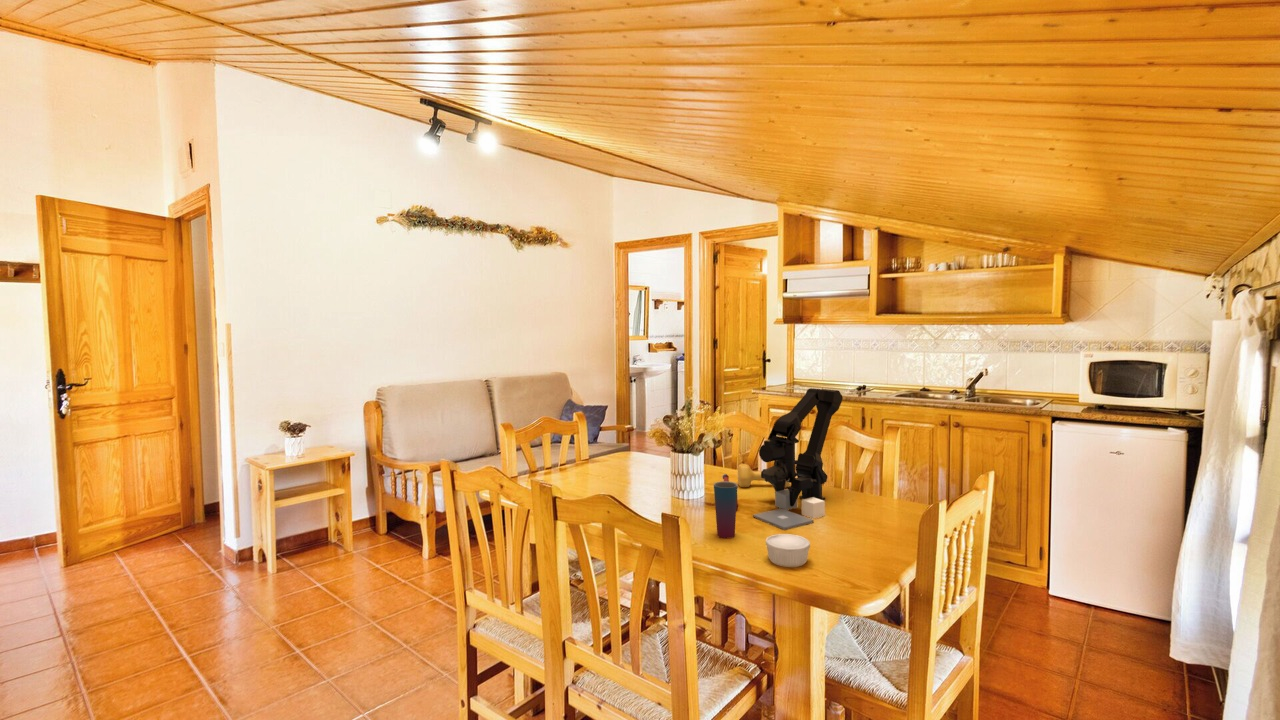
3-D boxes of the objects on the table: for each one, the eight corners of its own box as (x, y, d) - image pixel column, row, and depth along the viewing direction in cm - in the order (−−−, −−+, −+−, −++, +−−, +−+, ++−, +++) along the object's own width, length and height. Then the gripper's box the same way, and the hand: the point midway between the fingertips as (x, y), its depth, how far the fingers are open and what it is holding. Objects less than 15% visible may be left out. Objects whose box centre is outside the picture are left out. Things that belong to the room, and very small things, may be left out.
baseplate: (781, 510, 198) (781, 507, 198) (813, 522, 186) (813, 519, 186) (752, 517, 192) (752, 514, 192) (784, 530, 180) (784, 527, 180)
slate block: (786, 503, 206) (786, 489, 205) (797, 507, 201) (797, 492, 201) (775, 506, 203) (775, 491, 203) (785, 510, 199) (785, 495, 198)
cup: (739, 532, 179) (739, 482, 178) (735, 540, 173) (735, 488, 172) (716, 530, 181) (716, 480, 180) (711, 538, 175) (711, 486, 174)
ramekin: (778, 549, 166) (778, 530, 166) (817, 559, 159) (817, 539, 158) (757, 562, 157) (757, 542, 157) (798, 573, 150) (798, 552, 150)
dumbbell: (738, 489, 224) (738, 467, 224) (737, 482, 233) (737, 461, 233) (791, 490, 222) (791, 468, 221) (788, 483, 231) (788, 462, 230)
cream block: (813, 512, 197) (813, 497, 196) (824, 516, 192) (824, 500, 192) (801, 515, 194) (801, 499, 194) (813, 519, 190) (813, 503, 189)
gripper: (748, 455, 205) (748, 501, 206) (788, 466, 189) (788, 515, 190) (773, 451, 211) (773, 495, 212) (814, 461, 194) (814, 509, 196)
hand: (786, 503), depth 202 cm, fingers closed on slate block, 5 cm apart
